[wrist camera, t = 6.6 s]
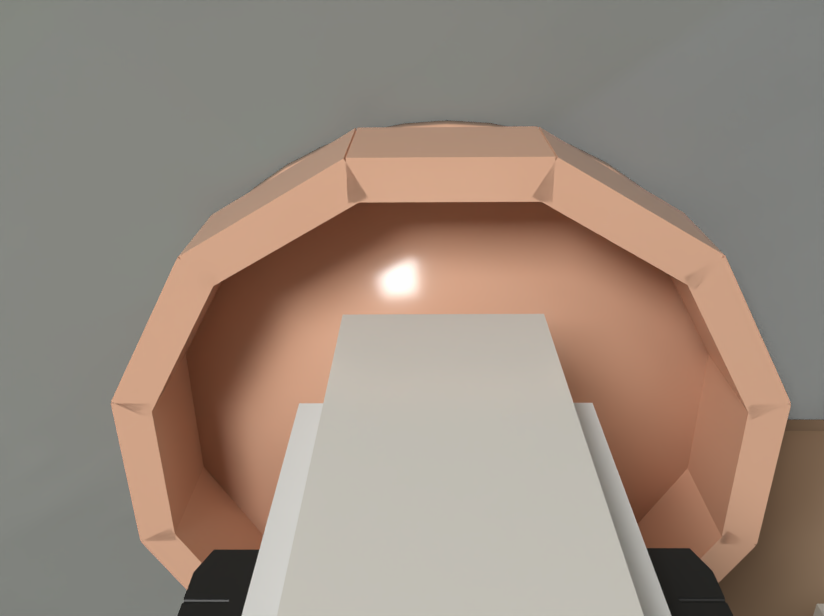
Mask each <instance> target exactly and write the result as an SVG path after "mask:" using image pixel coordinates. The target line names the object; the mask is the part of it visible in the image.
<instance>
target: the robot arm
mask: <svg viewBox="0 0 824 616" xmlns="http://www.w3.org/2000/svg"><path fill="white" fill-rule="evenodd" d="M574 406H575V409H576V412H577V415H578V418H579V421H580V424H581V427H582V430H583V433H584V436H585V439H586V442H587V445H588V448H589V451H590V454H591V457H592V460H593V463H594V466H595V469H596V473H597V476H598V479H599V482H600V485H601V488H602V491H603V494H604V497H605V500H606V503H607V506H608V509H609V512H610V515H611V518H612V521H613V524H614V527H615V530H616V533H617V536H618V539H619V542H620V545H621V548H622V551H623V554H624V557H625V560H626V563H627V566H628V569H629V572H630V575H631V578H632V581H633V584H634V587H635V590H636V593H637V596H638V599H639V602H640V605H641V608H642V611H643V614H644V616H733V614H732V612H731V610H730V607H729V605H728V603H726V602H725V597H724V594H723V592H722V590H721V588H720V586H719V584H718V582H717V579H716V577H715V575H714V573H713V571H712V570H711V569H710V568H709V567H708V566H707V565H706V564H705V563H704V562H703V561H702V560H701V559H700V558H699V557H698V556H697V555H696V554H695V553H694V552H693V551H692V550H691V549H690V548H646V546H645V543H644V540H643V538H642V535H641V532H640V530H639V527H638V524H637V522H636V519H635V516H634V513H633V511H632V508H631V505H630V503H629V500H628V497H627V495H626V492H625V489H624V487H623V484H622V481H621V478H620V476H619V473H618V470H617V468H616V465H615V462H614V460H613V457H612V454H611V452H610V449H609V446H608V443H607V441H606V438H605V435H604V433H603V430H602V427H601V425H600V422H599V419H598V417H597V414H596V411H595V408H594V406H593V403H574ZM322 407H323V403H299V405H298V409H297V413H296V417H295V420H294V424H293V428H292V431H291V435H290V439H289V442H288V446H287V450H286V453H285V457H284V461H283V465H282V468H281V472H280V476H279V479H278V483H277V487H276V490H275V494H274V498H273V501H272V505H271V509H270V512H269V516H268V520H267V524H266V527H265V531H264V535H263V538H262V542H261V546H260V549H259V550H213V551H212V552H211V553H210V554H209V556H208V557H207V558H206V559H205V560H204V561H203V562H202V563H201V564H200V566H199V567H198V568H197V569H196V570H195V571H194V572H193V575H192V578H191V580H190V583H189V586H188V589H187V591H186V594H185V597H184V603H182V605H181V608H180V610H179V613H178V616H277V613H278V609H279V604H280V599H281V595H282V590H283V586H284V581H285V576H286V572H287V567H288V563H289V558H290V554H291V549H292V544H293V540H294V535H295V531H296V526H297V522H298V517H299V512H300V508H301V503H302V499H303V494H304V489H305V485H306V480H307V476H308V471H309V467H310V462H311V457H312V453H313V448H314V444H315V439H316V435H317V430H318V425H319V421H320V416H321V412H322Z"/></svg>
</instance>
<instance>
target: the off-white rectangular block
mask: <svg viewBox="0 0 824 616" xmlns="http://www.w3.org/2000/svg"><path fill="white" fill-rule="evenodd" d="M813 616H824V604H816V608H815V611H814V614H813Z"/></svg>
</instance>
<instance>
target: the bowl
mask: <svg viewBox="0 0 824 616" xmlns="http://www.w3.org/2000/svg"><path fill="white" fill-rule="evenodd" d="M358 314H544V315H545V318H546V321H547V324H548V327H549V331H550V334H551V337H552V340H553V343H554V346H555V349H556V352H557V355H558V358H559V361H560V364H561V367H562V370H563V373H564V376H565V379H566V382H567V385H568V388H569V391H570V394H571V397H572V400H573V403H593V406H594V408H595V411H596V414H597V417H598V419H599V422H600V425H601V427H602V430H603V433H604V435H605V438H606V441H607V443H608V446H609V449H610V452H611V454H612V457H613V460H614V462H615V465H616V468H617V470H618V473H619V476H620V478H621V481H622V484H623V487H624V489H625V492H626V495H627V497H628V500H629V503H630V505H631V508H632V511H633V513H634V516H635V519H636V522H637V524H638V527H639V530H640V532H641V535H642V538H643V540H644V543H645V546H646V548H690V549H691V550H692V551H693V552H694V553H695V554H696V555H697V556H698V557H699V558H700V559H701V560H702V561H703V562H704V563H705V564H706V565H707V566H708V567H709V568H710V569H711V570H712V571H713V573H714V575H715V577H716V579H717V582H718V583H719V582H720V581H721V580H722V579H723V578H724V577H725V576H726V575H727V574H728V573H729V572H730V571H731V570H732V569H733V568H734V567H735V566H736V565H737V564H738V563H739V562H740V561H741V560H742V559H743V558H744V557H745V556H746V555H747V554H748V553H749V552H750V551H751V550H752V549H753V548H754V547H755V546H756V544H757V542H758V538H759V534H760V530H761V526H762V522H763V518H764V513H765V509H766V505H767V501H768V497H769V493H770V489H771V485H772V481H773V476H774V472H775V468H776V464H777V460H778V456H779V452H780V448H781V444H782V439H783V435H784V431H785V427H786V423H787V419H788V415H789V411H790V406H791V404H790V403H791V402H790V400H789V398H788V395H787V393H786V391H785V389H784V386H783V384H782V382H781V380H780V377H779V375H778V373H777V371H776V368H775V366H774V364H773V362H772V360H771V357H770V355H769V353H768V351H767V348H766V346H765V344H764V342H763V339H762V337H761V335H760V333H759V330H758V328H757V326H756V324H755V321H754V319H753V317H752V315H751V312H750V310H749V308H748V306H747V303H746V301H745V299H744V297H743V294H742V292H741V290H740V288H739V285H738V283H737V281H736V279H735V276H734V274H733V272H732V270H731V267H730V265H729V263H728V261H727V258H726V256H725V255H724V254H723V253H722V252H721V251H720V250H719V249H718V248H717V247H716V246H715V245H714V244H713V243H712V242H711V241H710V240H709V238H708V237H707V236H706V235H705V234H704V233H703V232H702V231H701V230H700V229H699V228H698V227H697V226H696V225H695V224H694V223H693V222H692V221H691V220H690V219H689V218H688V217H687V216H686V215H685V213H683V212H682V211H680V210H678V209H677V208H675V207H673V206H672V205H670V204H668V203H667V202H665V201H663V200H662V199H660V198H658V197H656V196H655V195H653V194H651V193H650V192H648V191H646V190H645V189H643V188H641V187H640V186H639V185H638V184H636V183H635V182H634V181H632V180H631V179H629V178H628V177H626V176H625V175H623V174H622V173H621V172H619V171H618V170H616V169H615V168H613V167H612V166H611V165H609V164H608V163H606V162H604V161H602V160H600V159H598V158H596V157H594V156H592V155H590V154H588V153H586V152H584V151H582V150H580V149H578V148H576V147H574V146H572V145H570V144H567V143H565V142H564V141H562V140H560V139H559V138H557V137H555V136H554V135H552V134H550V133H549V132H547V131H545V130H544V129H542V128H540V127H539V128H538V127H507V126H502V125H497V124H492V123H481V122H464V121H447V120H446V121H432V122H418V123H405V124H399V125H395V126H390V127H383V128H357V130H356V128H355V129H353V130H352V131H350V132H348V133H347V134H345V135H343V136H342V137H340V138H338V139H337V140H335V141H333V142H332V143H330V144H327V145H325V146H322V147H320V148H318V149H316V150H314V151H312V152H310V153H309V154H307V155H305V156H303V157H301V158H299V159H297V160H295V161H293V162H291V163H289V164H287V165H286V166H284V167H283V168H281V169H280V170H279V171H277V172H276V173H274V174H273V175H272V176H270V177H269V178H267V179H266V180H264V181H263V182H262V183H260V184H259V185H257V186H256V187H255V188H254V189H253V190H251V191H250V192H249V193H247V194H246V195H244V196H242V197H241V198H239V199H237V200H236V201H234V202H232V203H231V204H229V205H227V206H226V207H224V208H222V209H221V210H219V211H217V212H216V213H214V214H212V216H211V217H210V218H209V219H208V220H207V222H206V223H205V224H204V225H203V227H202V228H201V229H200V230H199V232H198V233H197V234H196V235H195V236H194V238H193V239H192V240H191V241H190V243H189V244H188V245H187V246H186V248H185V249H184V250H183V251H182V253H181V254H180V255H179V256H178V258H177V259H176V262H175V264H174V266H173V268H172V270H171V273H170V275H169V277H168V279H167V281H166V283H165V286H164V288H163V290H162V292H161V294H160V296H159V299H158V301H157V303H156V305H155V307H154V310H153V312H152V314H151V316H150V318H149V320H148V323H147V325H146V327H145V329H144V331H143V333H142V336H141V338H140V340H139V342H138V344H137V346H136V349H135V351H134V353H133V355H132V357H131V360H130V362H129V364H128V366H127V368H126V370H125V373H124V375H123V377H122V379H121V381H120V383H119V386H118V388H117V390H116V392H115V394H114V397H113V399H112V401H111V402H112V403H111V406H112V411H113V416H114V420H115V425H116V430H117V434H118V439H119V443H120V448H121V453H122V457H123V462H124V467H125V471H126V476H127V481H128V485H129V490H130V495H131V499H132V504H133V508H134V513H135V518H136V522H137V527H138V532H139V536H140V541H141V542H142V543H143V544H144V545H145V546H146V547H147V549H148V550H149V551H150V552H151V553H152V554H153V555H154V556H155V557H156V558H157V559H158V560H159V561H160V562H161V563H162V564H163V565H164V566H165V567H166V568H167V569H168V570H169V572H170V573H171V574H172V575H173V576H174V577H175V578H176V579H177V580H178V581H179V582H180V583H181V584H182V585H183V586H184V587H185V588H186V589H188V586H189V583H190V580H191V578H192V575H193V572H194V571H195V570H196V569H197V568H198V567H199V566H200V564H201V563H202V562H203V561H204V560H205V559H206V558H207V557H208V556H209V554H210V553H211V552H212V551H213V550H259V549H260V546H261V542H262V538H263V535H264V531H265V527H266V524H267V520H268V516H269V512H270V509H271V505H272V501H273V498H274V494H275V490H276V487H277V483H278V479H279V476H280V472H281V468H282V465H283V461H284V457H285V453H286V450H287V446H288V442H289V439H290V435H291V431H292V428H293V424H294V420H295V417H296V413H297V409H298V405H299V403H323V402H324V398H325V393H326V389H327V384H328V380H329V375H330V370H331V366H332V361H333V357H334V352H335V348H336V343H337V338H338V334H339V329H340V325H341V320H342V315H358Z"/></svg>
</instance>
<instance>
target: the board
mask: <svg viewBox="0 0 824 616" xmlns="http://www.w3.org/2000/svg"><path fill="white" fill-rule="evenodd" d="M718 584H719V586H720V588H721V590H722V592H723V594H724V597H725V602H726V603H728V605H729V607H730V610H731V612H732V614H733V616H813V614H814V611H815V608H816V604H824V420H787V423H786V427H785V431H784V435H783V439H782V444H781V448H780V452H779V456H778V460H777V464H776V468H775V472H774V476H773V481H772V485H771V489H770V493H769V497H768V501H767V505H766V509H765V513H764V518H763V522H762V526H761V530H760V534H759V538H758V542H757V544H756V546H755V547H754V548H753V549H752V550H751V551H750V552H749V553H748V554H747V555H746V556H745V557H744V558H743V559H742V560H741V561H740V562H739V563H738V564H737V565H736V566H735V567H734V568H733V569H732V570H731V571H730V572H729V573H728V574H727V575H726V576H725V577H724V578H723V579H722V580H721V581H720V582H719V583H718Z"/></svg>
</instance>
